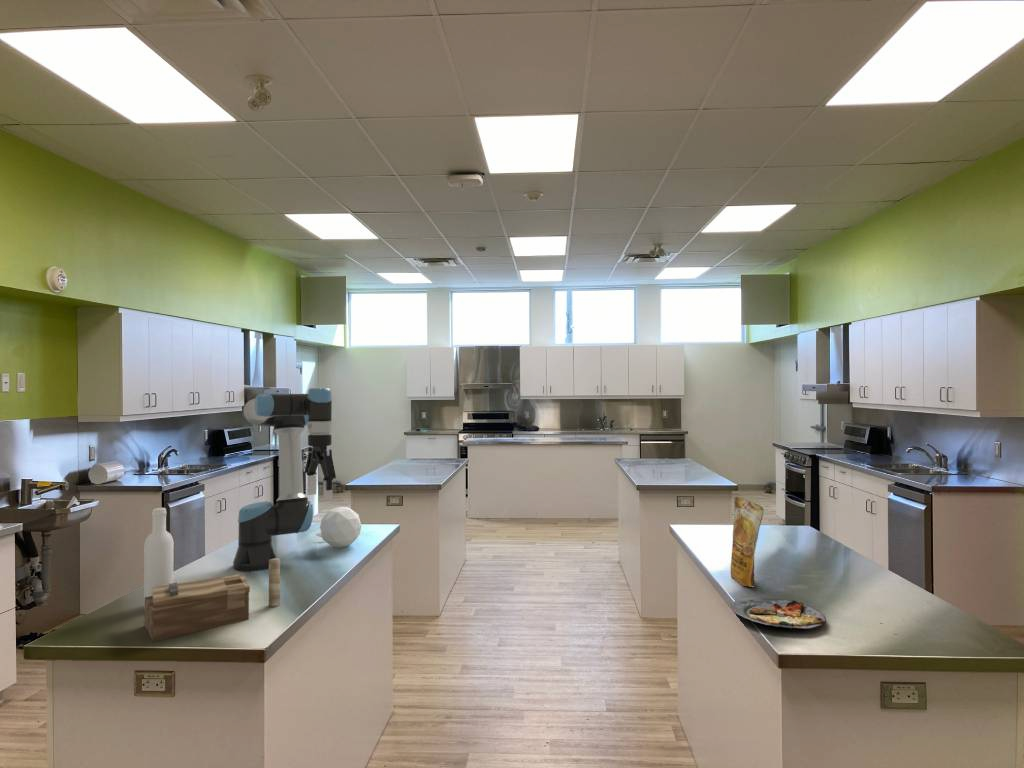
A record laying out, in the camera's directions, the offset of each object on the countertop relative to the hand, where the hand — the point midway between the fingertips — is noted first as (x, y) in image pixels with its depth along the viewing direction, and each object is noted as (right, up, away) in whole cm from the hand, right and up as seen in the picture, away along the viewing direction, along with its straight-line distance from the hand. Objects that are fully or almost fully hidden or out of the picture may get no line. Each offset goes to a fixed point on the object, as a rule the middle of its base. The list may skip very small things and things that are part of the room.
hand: (319, 497), depth 198 cm
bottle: (-45, -31, -16) cm, 56 cm away
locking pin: (-9, -31, -15) cm, 35 cm away
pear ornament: (-14, -30, +53) cm, 63 cm away
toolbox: (-26, -30, -29) cm, 49 cm away
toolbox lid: (-26, -22, -27) cm, 43 cm away
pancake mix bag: (+146, -31, +8) cm, 149 cm away
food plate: (+142, -31, -26) cm, 148 cm away
